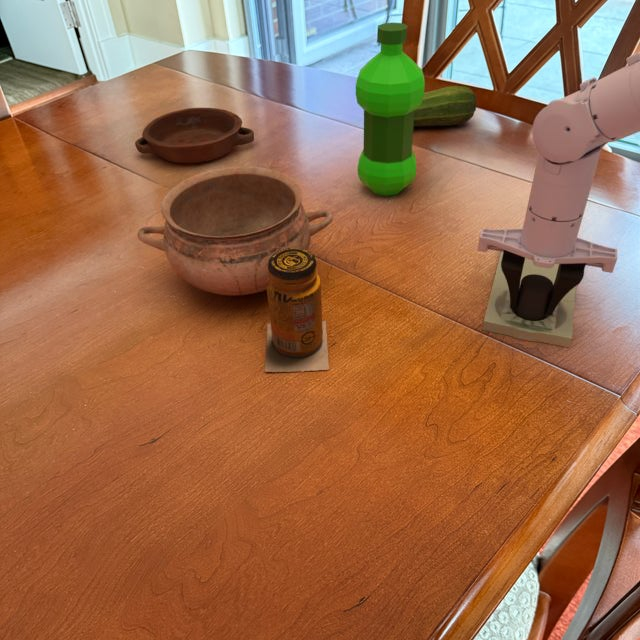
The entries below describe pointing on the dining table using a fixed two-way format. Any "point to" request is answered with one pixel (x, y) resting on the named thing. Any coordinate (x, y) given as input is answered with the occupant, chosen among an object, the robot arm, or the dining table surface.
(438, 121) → the vegetable
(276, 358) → the condiment
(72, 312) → the dining table surface
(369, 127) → the plastic bottle
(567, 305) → the plate
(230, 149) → the dish
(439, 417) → the dining table surface
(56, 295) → the dining table surface
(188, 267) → the cooking pot
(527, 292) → the stopper
